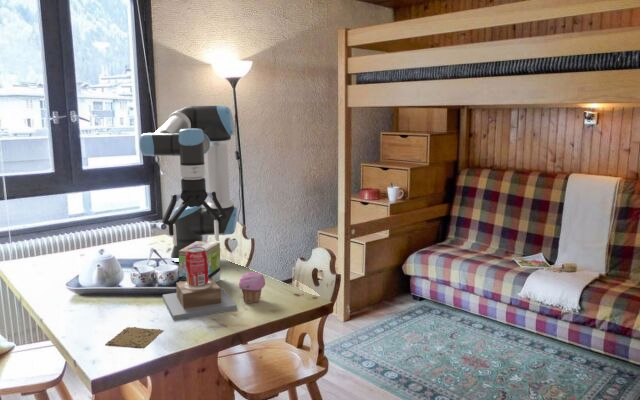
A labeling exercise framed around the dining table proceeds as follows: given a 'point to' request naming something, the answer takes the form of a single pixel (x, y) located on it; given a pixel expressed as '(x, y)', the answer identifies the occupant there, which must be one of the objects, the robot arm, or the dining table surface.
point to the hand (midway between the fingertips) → (196, 242)
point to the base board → (180, 313)
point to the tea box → (213, 259)
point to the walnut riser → (198, 294)
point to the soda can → (196, 266)
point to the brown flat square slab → (134, 337)
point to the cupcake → (251, 286)
